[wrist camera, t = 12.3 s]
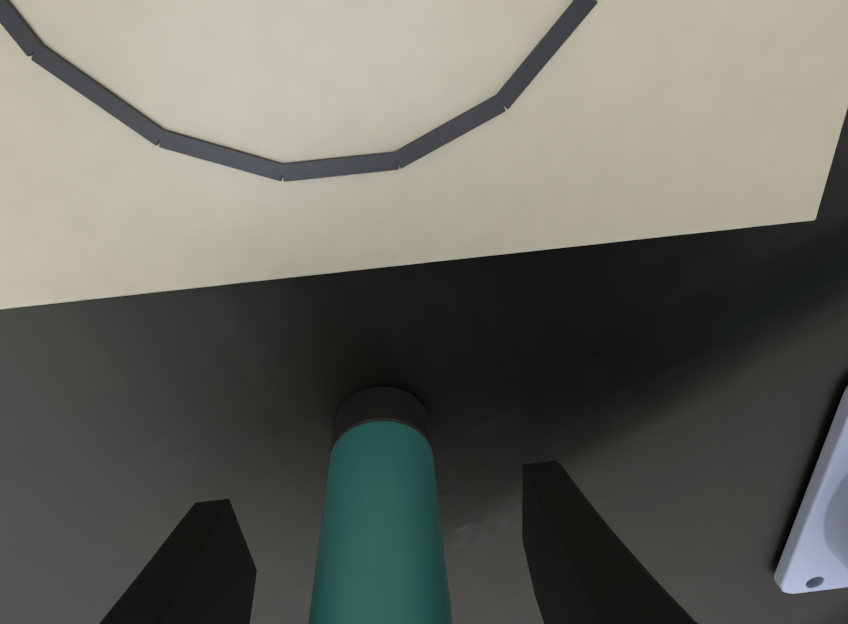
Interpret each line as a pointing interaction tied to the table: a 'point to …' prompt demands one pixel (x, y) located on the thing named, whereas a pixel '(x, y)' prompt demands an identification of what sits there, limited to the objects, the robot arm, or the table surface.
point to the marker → (381, 518)
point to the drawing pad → (395, 132)
